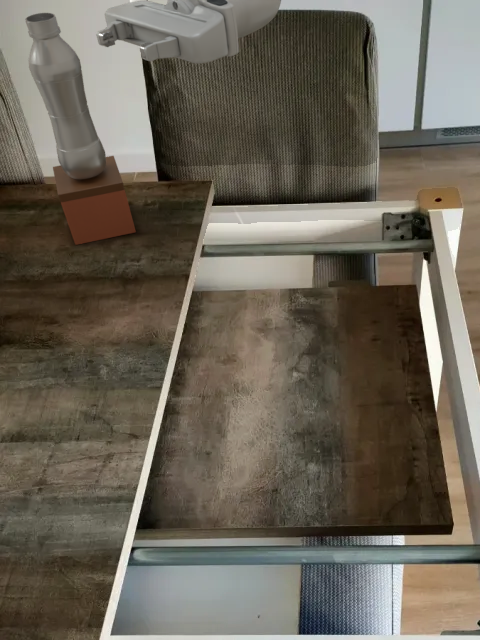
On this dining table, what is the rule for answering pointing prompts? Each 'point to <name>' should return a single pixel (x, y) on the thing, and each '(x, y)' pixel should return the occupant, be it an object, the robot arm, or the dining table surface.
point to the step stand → (95, 204)
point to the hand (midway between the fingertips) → (121, 46)
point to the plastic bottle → (64, 98)
